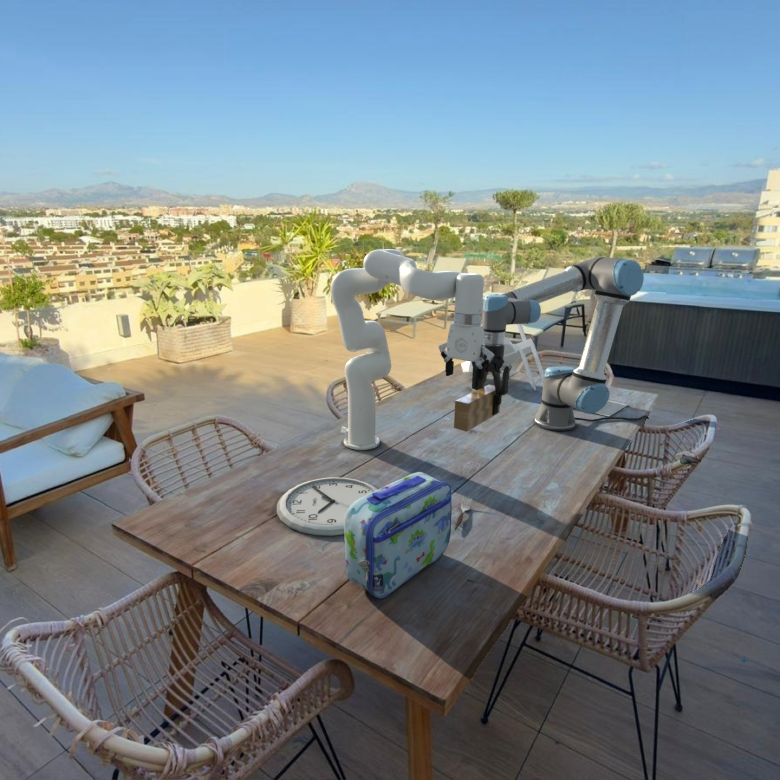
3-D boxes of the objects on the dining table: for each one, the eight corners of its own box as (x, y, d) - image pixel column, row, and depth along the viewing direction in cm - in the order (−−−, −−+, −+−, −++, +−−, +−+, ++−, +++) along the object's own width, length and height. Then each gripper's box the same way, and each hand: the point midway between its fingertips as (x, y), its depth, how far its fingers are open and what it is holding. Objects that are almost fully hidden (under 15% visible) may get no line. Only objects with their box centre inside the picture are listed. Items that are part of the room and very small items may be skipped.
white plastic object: (482, 419, 265) (461, 396, 241) (463, 346, 287) (443, 319, 263) (553, 395, 253) (539, 368, 228) (528, 321, 275) (513, 290, 250)
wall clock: (392, 527, 129) (268, 531, 127) (391, 533, 130) (269, 537, 127) (383, 473, 158) (282, 475, 155) (383, 478, 158) (282, 480, 156)
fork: (449, 531, 131) (450, 524, 131) (463, 501, 146) (463, 495, 145) (459, 533, 130) (460, 526, 130) (472, 503, 145) (473, 496, 144)
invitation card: (608, 416, 214) (573, 407, 224) (608, 416, 214) (573, 408, 224) (628, 404, 229) (594, 396, 238) (628, 405, 229) (594, 397, 238)
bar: (487, 409, 180) (489, 384, 177) (499, 412, 177) (501, 386, 174) (453, 428, 163) (455, 400, 160) (466, 431, 160) (468, 403, 158)
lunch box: (372, 611, 103) (373, 518, 97) (338, 585, 111) (336, 497, 104) (455, 557, 121) (460, 475, 115) (420, 537, 128) (424, 459, 122)
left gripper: (434, 317, 147) (431, 375, 153) (489, 324, 138) (485, 386, 143) (447, 314, 153) (444, 370, 158) (502, 321, 143) (497, 380, 148)
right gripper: (462, 341, 170) (459, 409, 177) (513, 349, 160) (507, 421, 167) (474, 338, 176) (470, 403, 183) (523, 345, 166) (517, 414, 173)
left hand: (463, 378), depth 151 cm, fingers open, 9 cm apart
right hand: (487, 411), depth 175 cm, fingers closed on bar, 5 cm apart
